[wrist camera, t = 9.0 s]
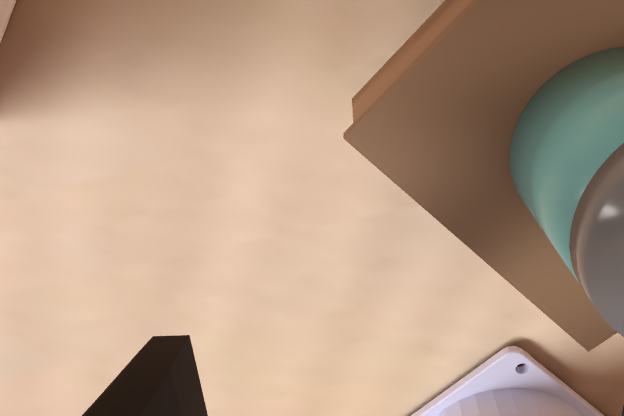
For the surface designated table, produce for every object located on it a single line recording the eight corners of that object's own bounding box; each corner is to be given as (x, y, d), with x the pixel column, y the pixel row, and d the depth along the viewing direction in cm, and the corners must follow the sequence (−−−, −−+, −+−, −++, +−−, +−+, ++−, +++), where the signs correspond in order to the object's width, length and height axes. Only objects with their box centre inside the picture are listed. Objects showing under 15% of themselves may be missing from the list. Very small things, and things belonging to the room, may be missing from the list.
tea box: (760, 119, 18) (865, 168, 14) (546, 278, 21) (588, 351, 17) (556, -132, 15) (623, -148, 11) (343, 95, 18) (343, 138, 15)
